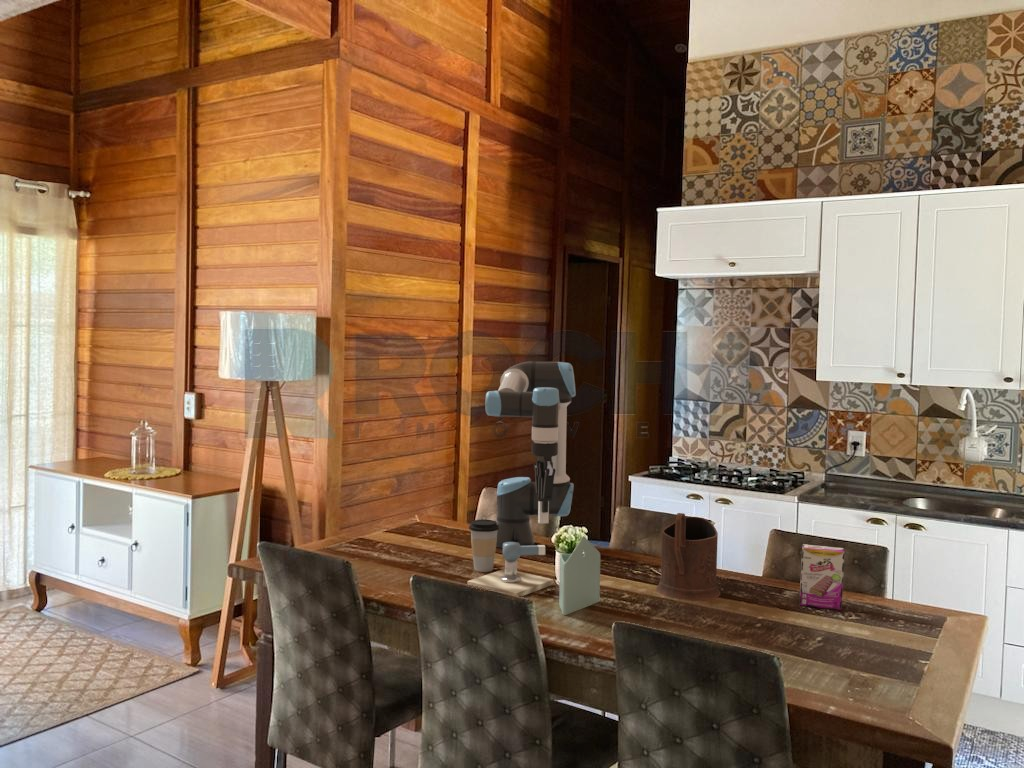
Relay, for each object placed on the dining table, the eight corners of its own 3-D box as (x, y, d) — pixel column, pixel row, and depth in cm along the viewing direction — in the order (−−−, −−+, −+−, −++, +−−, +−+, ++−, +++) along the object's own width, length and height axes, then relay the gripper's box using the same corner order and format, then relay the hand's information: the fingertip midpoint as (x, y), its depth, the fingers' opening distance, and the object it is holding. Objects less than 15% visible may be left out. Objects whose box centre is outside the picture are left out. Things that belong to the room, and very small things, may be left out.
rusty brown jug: (726, 587, 256) (729, 503, 254) (709, 609, 234) (711, 518, 233) (665, 578, 264) (667, 497, 262) (642, 600, 242) (645, 511, 240)
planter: (576, 595, 245) (578, 526, 244) (600, 601, 240) (601, 531, 239) (541, 609, 232) (542, 536, 231) (564, 615, 227) (566, 541, 226)
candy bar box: (799, 606, 239) (801, 547, 238) (799, 601, 243) (801, 543, 243) (842, 611, 235) (844, 551, 234) (842, 605, 240) (844, 547, 239)
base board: (505, 573, 266) (505, 568, 266) (553, 584, 255) (553, 579, 255) (467, 586, 252) (467, 581, 252) (516, 598, 241) (516, 593, 241)
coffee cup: (499, 566, 275) (500, 519, 274) (496, 574, 265) (497, 525, 264) (470, 564, 276) (471, 518, 275) (466, 572, 266) (466, 524, 265)
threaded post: (508, 576, 258) (509, 554, 258) (524, 579, 254) (525, 558, 254) (496, 580, 253) (496, 558, 253) (512, 584, 249) (512, 562, 249)
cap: (503, 559, 250) (504, 546, 250) (501, 555, 255) (501, 542, 255) (546, 558, 252) (546, 545, 252) (542, 554, 257) (543, 541, 257)
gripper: (564, 444, 242) (563, 527, 244) (550, 438, 255) (548, 517, 256) (539, 444, 240) (537, 528, 242) (525, 438, 253) (524, 518, 254)
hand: (543, 522), depth 249 cm, fingers closed
